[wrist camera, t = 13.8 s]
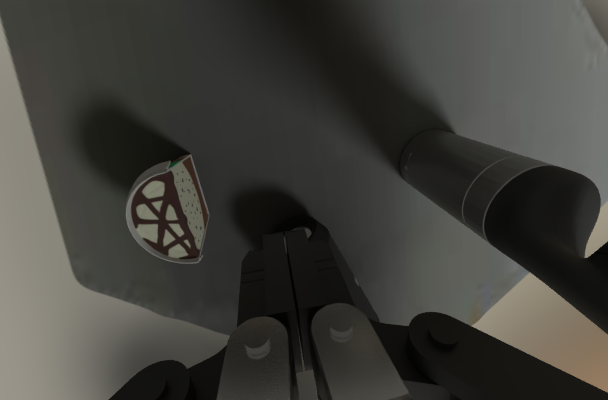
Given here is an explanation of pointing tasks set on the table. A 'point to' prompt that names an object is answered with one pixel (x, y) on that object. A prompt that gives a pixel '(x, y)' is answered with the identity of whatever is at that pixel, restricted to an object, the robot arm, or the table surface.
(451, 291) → the table surface
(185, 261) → the food container
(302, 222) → the portable speaker
